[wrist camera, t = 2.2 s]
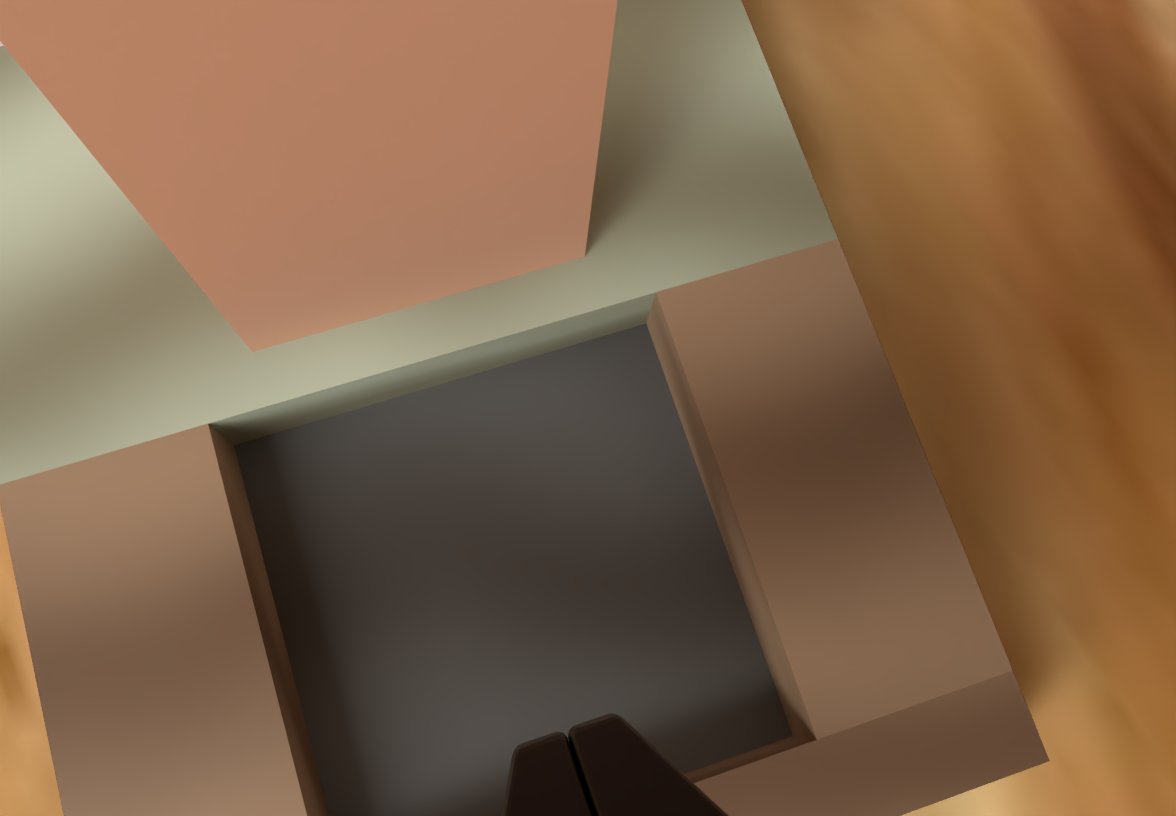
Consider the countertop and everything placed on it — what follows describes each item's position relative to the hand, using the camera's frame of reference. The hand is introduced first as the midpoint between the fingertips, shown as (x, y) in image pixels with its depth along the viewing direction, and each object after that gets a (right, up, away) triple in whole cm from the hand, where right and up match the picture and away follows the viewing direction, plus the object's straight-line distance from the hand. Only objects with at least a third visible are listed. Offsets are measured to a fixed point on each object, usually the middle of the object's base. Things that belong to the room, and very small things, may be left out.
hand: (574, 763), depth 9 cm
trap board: (-5, +11, +14) cm, 18 cm away
